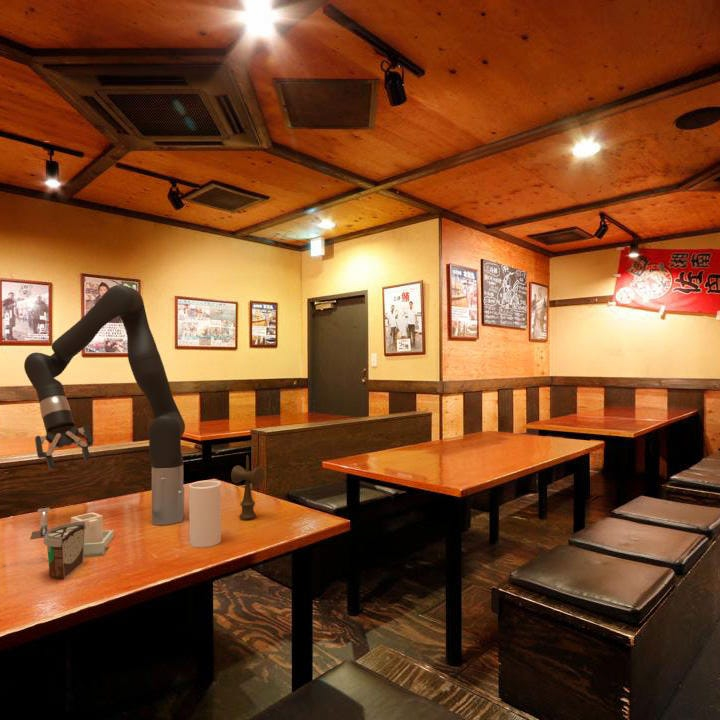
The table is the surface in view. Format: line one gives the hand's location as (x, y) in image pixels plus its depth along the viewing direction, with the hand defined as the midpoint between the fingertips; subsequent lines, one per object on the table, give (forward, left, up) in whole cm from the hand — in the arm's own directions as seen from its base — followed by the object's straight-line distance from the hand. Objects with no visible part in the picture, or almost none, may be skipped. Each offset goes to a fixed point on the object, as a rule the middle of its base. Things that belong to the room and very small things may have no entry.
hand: (70, 464), depth 146 cm
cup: (-39, +17, -20) cm, 47 cm away
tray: (-9, +16, -20) cm, 27 cm away
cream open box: (-9, +16, -19) cm, 26 cm away
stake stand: (+5, +4, -20) cm, 21 cm away
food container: (-7, +29, -20) cm, 36 cm away
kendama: (-50, -2, -20) cm, 54 cm away
